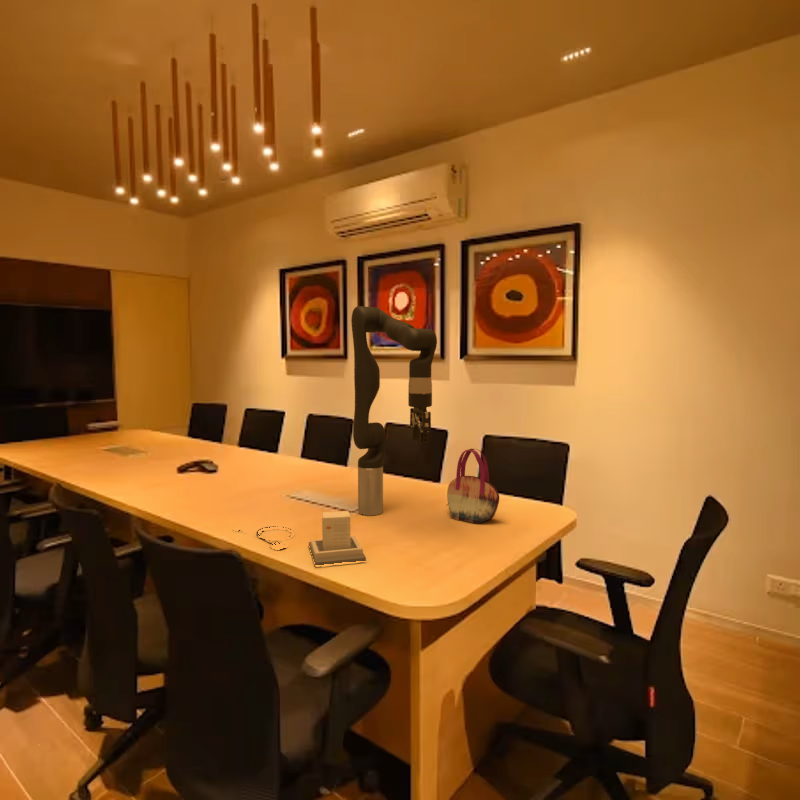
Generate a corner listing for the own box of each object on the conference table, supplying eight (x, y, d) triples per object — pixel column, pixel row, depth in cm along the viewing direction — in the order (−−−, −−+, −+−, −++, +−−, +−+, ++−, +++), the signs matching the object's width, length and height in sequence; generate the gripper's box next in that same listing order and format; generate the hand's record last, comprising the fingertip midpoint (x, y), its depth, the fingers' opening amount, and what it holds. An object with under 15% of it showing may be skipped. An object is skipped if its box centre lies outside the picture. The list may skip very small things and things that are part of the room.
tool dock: (308, 546, 162) (308, 537, 162) (354, 542, 166) (354, 533, 165) (315, 568, 146) (315, 557, 145) (365, 562, 149) (365, 552, 149)
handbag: (438, 516, 193) (439, 447, 192) (453, 510, 201) (454, 444, 199) (491, 527, 180) (492, 454, 178) (505, 520, 188) (506, 450, 186)
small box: (349, 545, 159) (349, 510, 158) (350, 552, 153) (350, 516, 152) (322, 546, 157) (322, 511, 157) (322, 553, 152) (322, 517, 151)
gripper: (402, 390, 176) (402, 439, 177) (415, 393, 162) (415, 446, 164) (424, 390, 178) (424, 438, 179) (438, 392, 165) (438, 445, 166)
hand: (419, 442), depth 172 cm, fingers open, 8 cm apart
